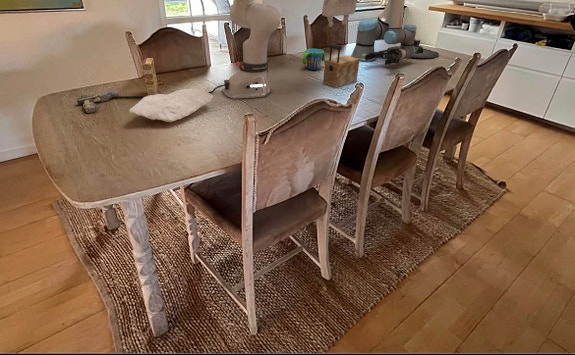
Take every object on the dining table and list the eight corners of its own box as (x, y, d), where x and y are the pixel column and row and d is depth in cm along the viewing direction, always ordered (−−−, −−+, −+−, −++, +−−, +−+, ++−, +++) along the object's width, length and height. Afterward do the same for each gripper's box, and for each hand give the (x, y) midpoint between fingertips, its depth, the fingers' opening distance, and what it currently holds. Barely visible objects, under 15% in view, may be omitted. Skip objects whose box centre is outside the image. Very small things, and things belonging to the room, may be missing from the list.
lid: (337, 66, 179) (340, 47, 174) (324, 62, 185) (325, 43, 180) (359, 61, 189) (362, 42, 184) (345, 57, 195) (347, 39, 190)
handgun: (128, 97, 156) (111, 87, 164) (86, 107, 144) (70, 97, 152) (129, 103, 157) (113, 94, 165) (88, 114, 146) (72, 103, 154)
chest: (336, 87, 185) (338, 66, 180) (322, 82, 191) (324, 62, 185) (356, 81, 195) (359, 61, 189) (343, 77, 200) (345, 57, 195)
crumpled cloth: (117, 110, 146) (113, 90, 140) (195, 92, 166) (194, 73, 160) (143, 139, 134) (140, 118, 128) (223, 116, 154) (224, 96, 148)
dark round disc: (449, 54, 250) (452, 40, 246) (416, 60, 233) (418, 45, 228) (408, 47, 275) (410, 34, 270) (376, 52, 257) (377, 38, 253)
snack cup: (318, 64, 219) (319, 47, 214) (329, 69, 212) (331, 51, 206) (297, 67, 212) (297, 49, 206) (307, 72, 204) (308, 54, 199)
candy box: (157, 97, 164) (152, 63, 155) (147, 98, 163) (141, 63, 155) (158, 91, 171) (153, 57, 163) (149, 91, 170) (143, 58, 162)
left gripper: (330, -5, 158) (327, 28, 165) (360, -7, 170) (356, 24, 177) (320, -7, 162) (317, 26, 169) (349, -9, 174) (346, 22, 181)
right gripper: (413, 65, 212) (393, 71, 200) (378, 56, 228) (357, 62, 215) (416, 52, 208) (395, 57, 196) (380, 44, 224) (358, 49, 211)
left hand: (337, 25), depth 173 cm, fingers open, 8 cm apart
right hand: (375, 59), depth 205 cm, fingers open, 13 cm apart
